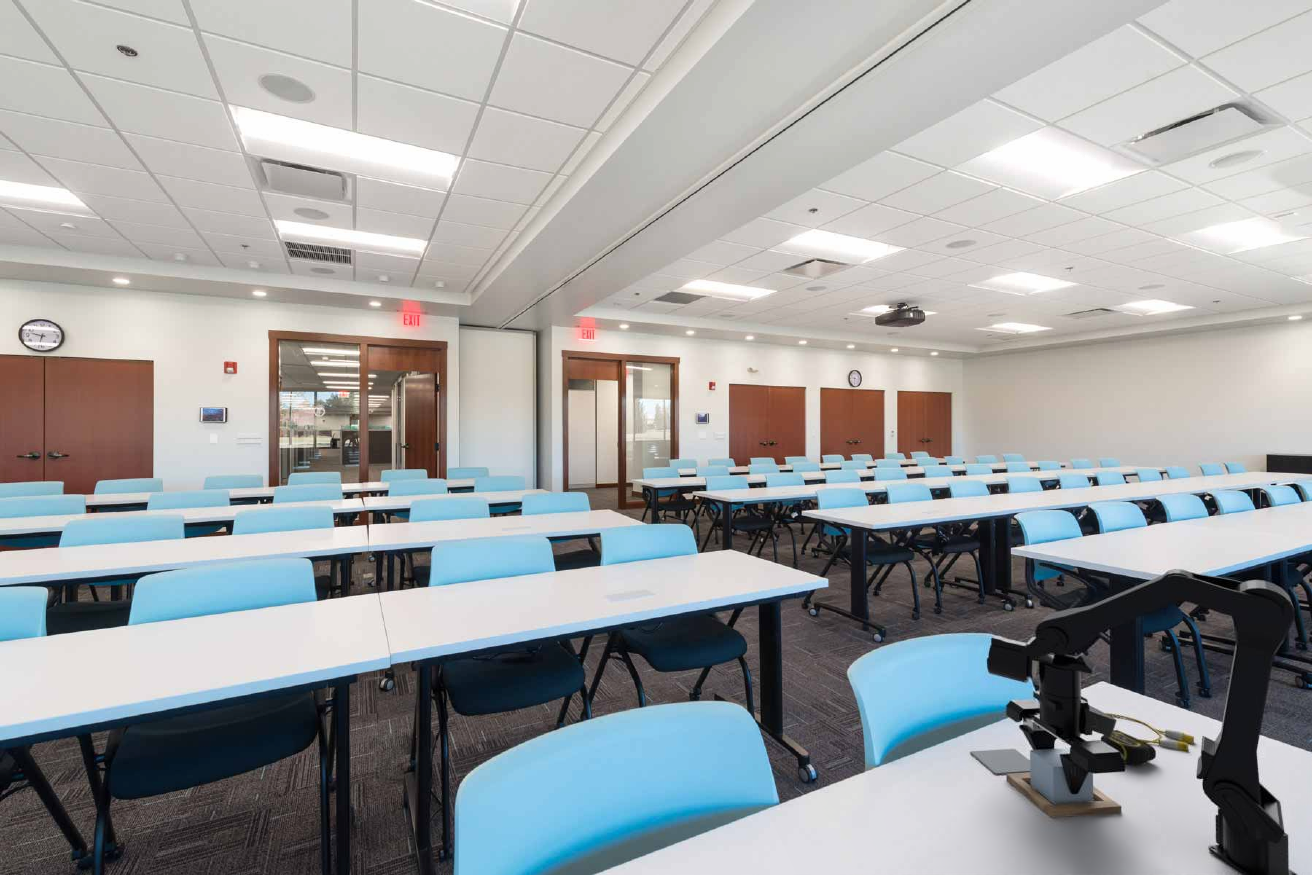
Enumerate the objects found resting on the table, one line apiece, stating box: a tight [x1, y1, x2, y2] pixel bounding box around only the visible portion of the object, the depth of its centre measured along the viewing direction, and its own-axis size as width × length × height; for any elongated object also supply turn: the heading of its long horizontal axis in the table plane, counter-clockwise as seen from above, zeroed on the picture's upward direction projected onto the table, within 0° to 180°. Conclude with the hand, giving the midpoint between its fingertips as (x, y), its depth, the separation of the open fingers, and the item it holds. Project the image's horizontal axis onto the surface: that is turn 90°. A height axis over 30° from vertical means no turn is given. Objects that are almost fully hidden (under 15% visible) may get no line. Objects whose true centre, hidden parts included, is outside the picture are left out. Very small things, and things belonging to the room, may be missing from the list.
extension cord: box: [1104, 712, 1195, 752], centre depth 114 cm, size 12×16×2 cm
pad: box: [969, 748, 1030, 776], centre depth 104 cm, size 7×9×1 cm
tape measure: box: [1100, 729, 1157, 766], centre depth 105 cm, size 7×7×4 cm
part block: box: [1029, 747, 1094, 804], centre depth 94 cm, size 5×7×6 cm
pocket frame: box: [1006, 772, 1122, 818], centre depth 94 cm, size 10×12×1 cm
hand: (1061, 783), depth 94 cm, fingers closed on part block, 5 cm apart
